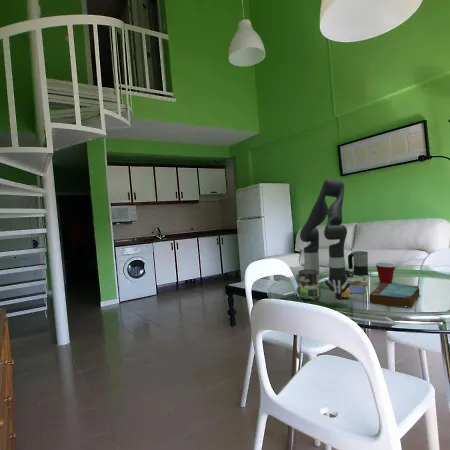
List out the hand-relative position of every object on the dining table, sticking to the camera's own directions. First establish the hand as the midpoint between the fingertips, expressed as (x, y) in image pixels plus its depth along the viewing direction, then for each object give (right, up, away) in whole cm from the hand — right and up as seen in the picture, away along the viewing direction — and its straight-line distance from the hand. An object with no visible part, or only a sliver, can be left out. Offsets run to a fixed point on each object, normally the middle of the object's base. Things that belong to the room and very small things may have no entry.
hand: (338, 300), depth 161 cm
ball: (+5, +2, +7) cm, 10 cm away
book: (+28, 0, +1) cm, 28 cm away
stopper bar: (+21, +2, +29) cm, 36 cm away
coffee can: (-11, -2, +12) cm, 17 cm away
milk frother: (+29, +4, +52) cm, 60 cm away
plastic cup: (+36, +3, +26) cm, 45 cm away
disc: (+15, +1, +20) cm, 25 cm away
